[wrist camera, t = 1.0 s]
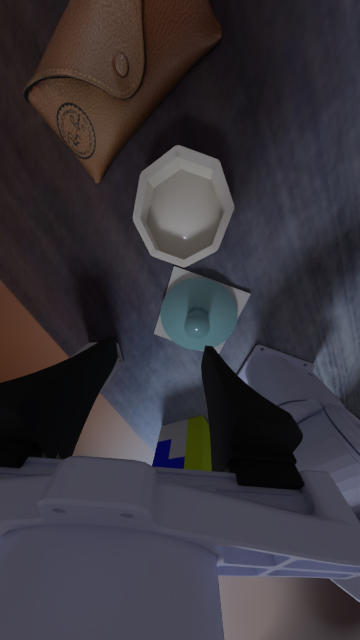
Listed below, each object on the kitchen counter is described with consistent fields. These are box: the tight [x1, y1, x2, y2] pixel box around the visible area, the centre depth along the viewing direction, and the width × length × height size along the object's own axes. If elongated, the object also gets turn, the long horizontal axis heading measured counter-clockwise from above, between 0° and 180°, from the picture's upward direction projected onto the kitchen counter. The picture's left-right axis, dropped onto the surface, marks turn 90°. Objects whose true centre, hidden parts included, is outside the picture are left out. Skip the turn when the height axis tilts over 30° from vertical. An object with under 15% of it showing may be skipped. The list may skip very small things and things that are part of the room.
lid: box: [160, 278, 237, 350], centre depth 21 cm, size 11×11×4 cm
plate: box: [154, 266, 250, 354], centre depth 23 cm, size 11×11×1 cm
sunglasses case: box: [23, 0, 222, 183], centre depth 14 cm, size 18×7×7 cm
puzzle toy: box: [152, 415, 212, 471], centre depth 30 cm, size 10×10×10 cm
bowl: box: [133, 145, 234, 268], centre depth 18 cm, size 10×10×3 cm
